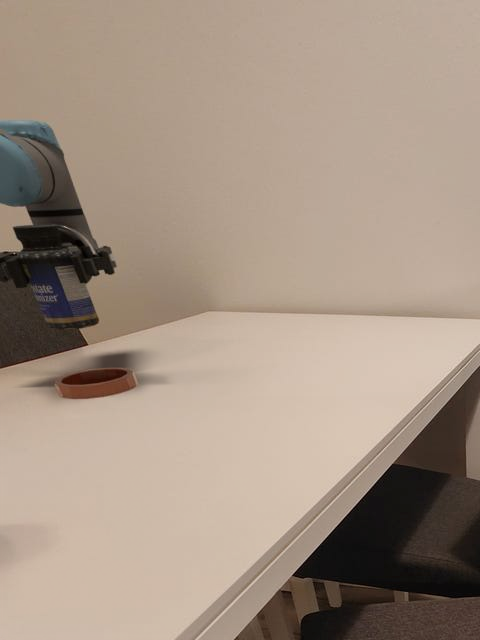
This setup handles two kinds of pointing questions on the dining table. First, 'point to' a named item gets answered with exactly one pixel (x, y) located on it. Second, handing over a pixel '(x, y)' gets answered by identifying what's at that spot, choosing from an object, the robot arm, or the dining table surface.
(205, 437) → the dining table surface
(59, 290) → the pill bottle
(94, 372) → the holder
